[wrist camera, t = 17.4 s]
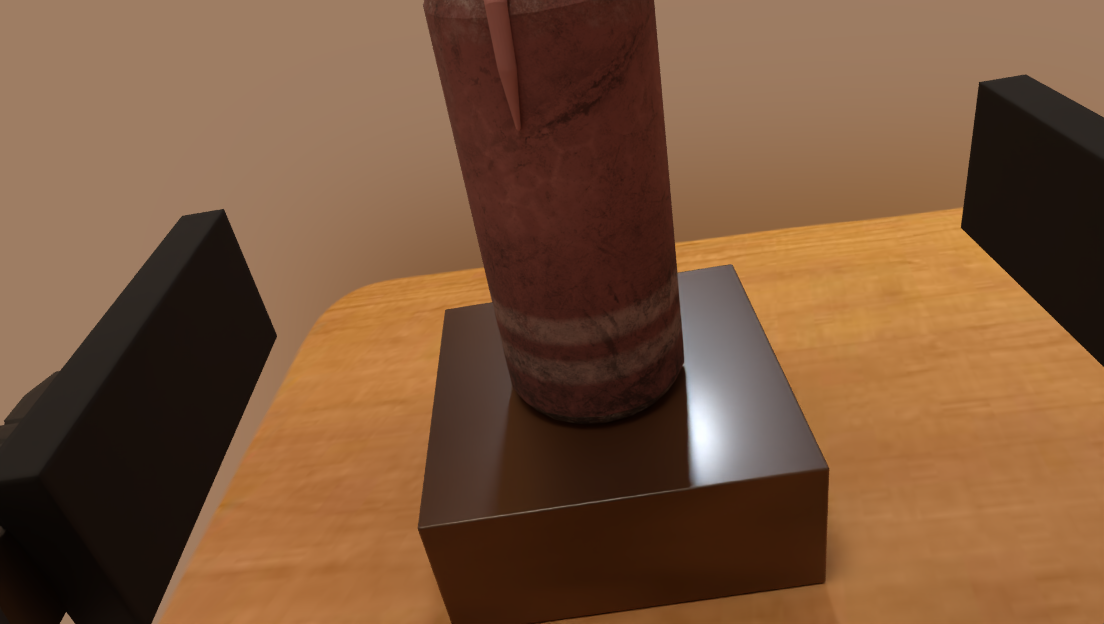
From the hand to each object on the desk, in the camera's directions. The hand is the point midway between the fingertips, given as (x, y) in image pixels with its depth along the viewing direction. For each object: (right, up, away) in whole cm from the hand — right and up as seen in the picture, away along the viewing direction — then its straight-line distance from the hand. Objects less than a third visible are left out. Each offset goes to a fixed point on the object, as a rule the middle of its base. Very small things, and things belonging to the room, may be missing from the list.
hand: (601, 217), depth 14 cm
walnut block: (+2, -8, +17) cm, 18 cm away
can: (+1, -4, +14) cm, 15 cm away
